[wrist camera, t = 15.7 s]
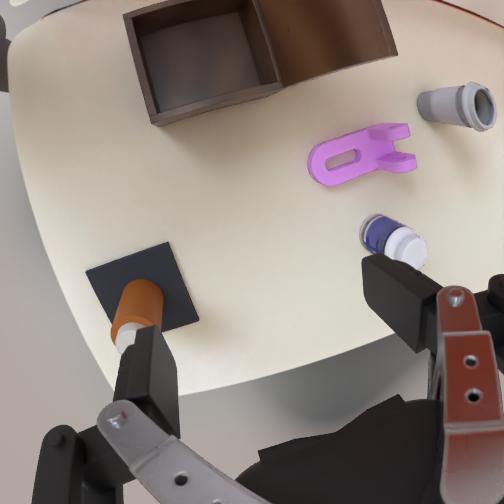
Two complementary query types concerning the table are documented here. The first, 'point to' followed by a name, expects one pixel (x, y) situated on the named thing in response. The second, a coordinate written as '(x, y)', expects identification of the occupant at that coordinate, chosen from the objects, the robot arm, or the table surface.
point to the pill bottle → (393, 240)
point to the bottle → (136, 312)
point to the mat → (149, 268)
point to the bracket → (362, 154)
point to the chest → (201, 56)
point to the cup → (460, 106)
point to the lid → (326, 36)
